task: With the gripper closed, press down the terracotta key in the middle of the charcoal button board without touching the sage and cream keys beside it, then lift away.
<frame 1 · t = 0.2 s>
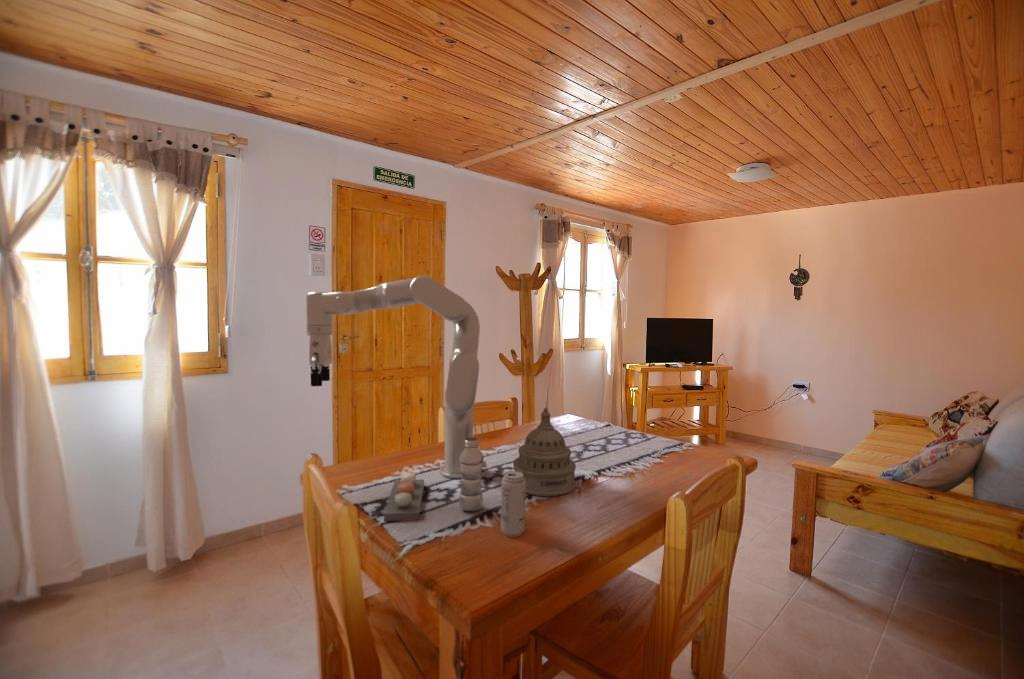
hand: (320, 383, 150), 31 cm above the table, fingers open, 9 cm apart
key cream: (408, 478, 141), point 4 cm above the table, slide at 0.0 cm
plastic bottle: (470, 509, 130), on the table
button board: (405, 501, 134), on the table
dome: (543, 485, 149), on the table
key sage: (403, 499, 126), point 4 cm above the table, slide at 0.0 cm
key terracotta: (405, 488, 134), point 4 cm above the table, slide at 0.0 cm
energy drink can: (512, 532, 117), on the table
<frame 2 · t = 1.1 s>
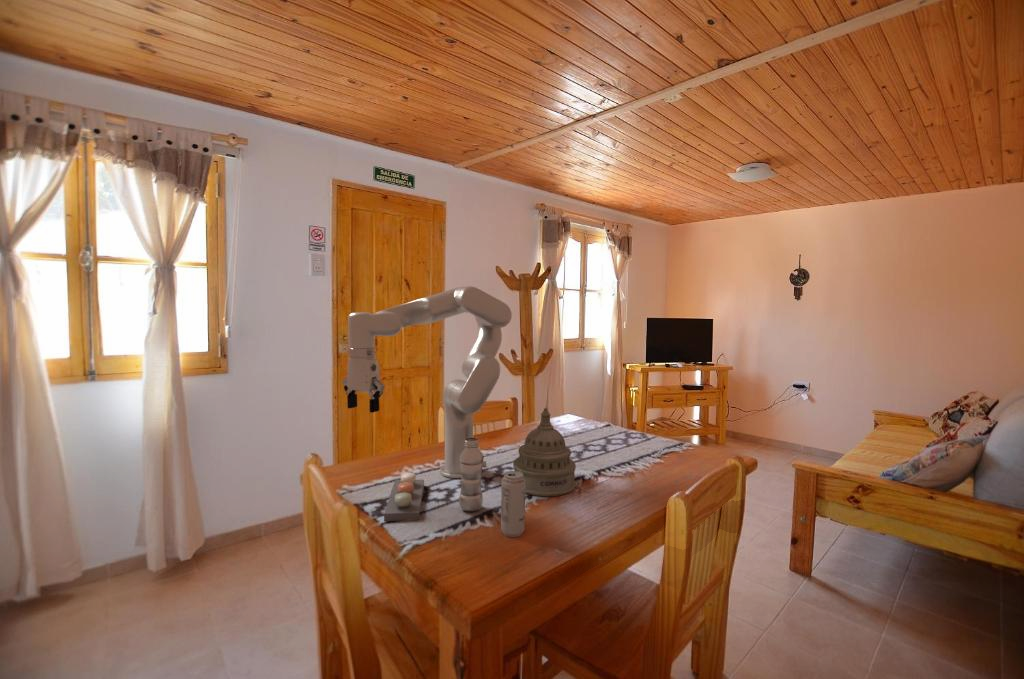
hand: (363, 409, 140), 25 cm above the table, fingers open, 9 cm apart
nothing on the table moved.
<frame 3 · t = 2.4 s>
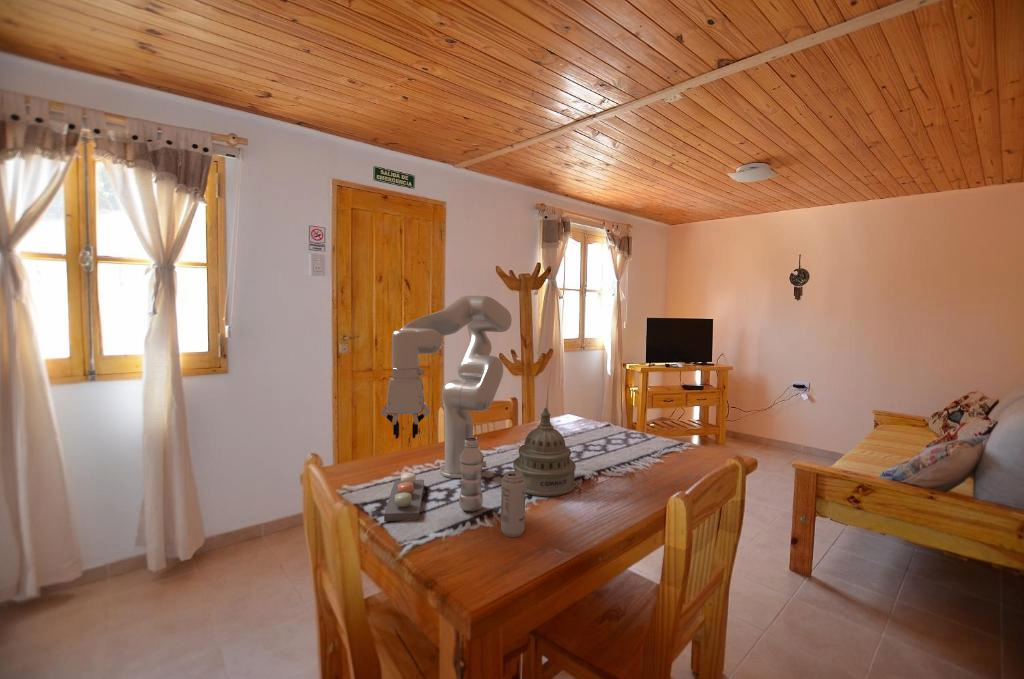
hand: (405, 436, 132), 19 cm above the table, fingers open, 4 cm apart
nothing on the table moved.
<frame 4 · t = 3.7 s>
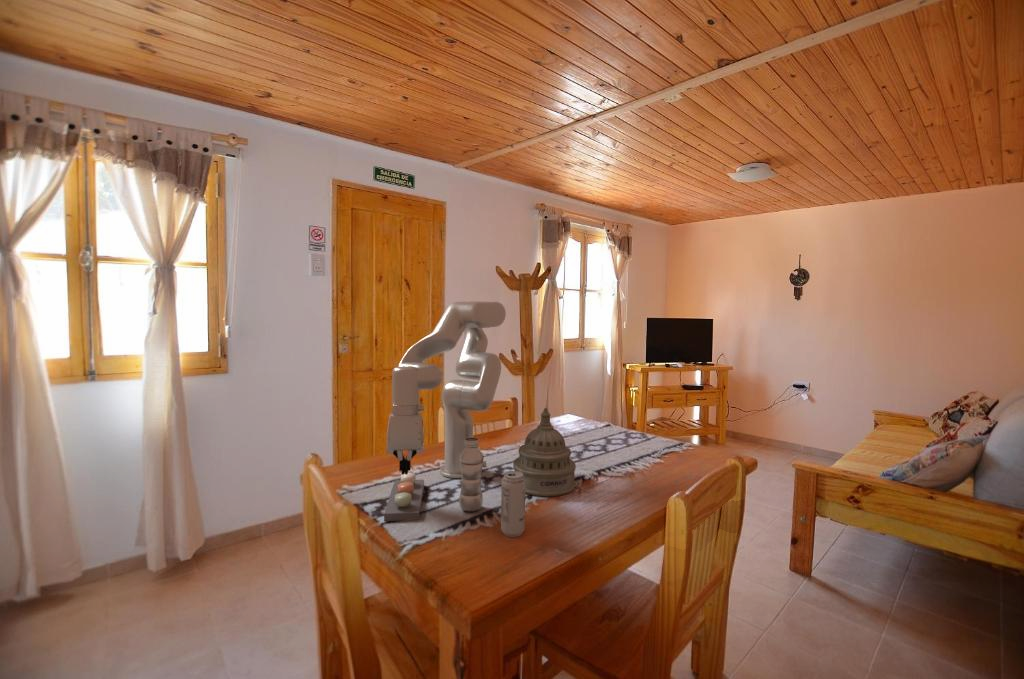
hand: (404, 472, 133), 9 cm above the table, fingers closed
nothing on the table moved.
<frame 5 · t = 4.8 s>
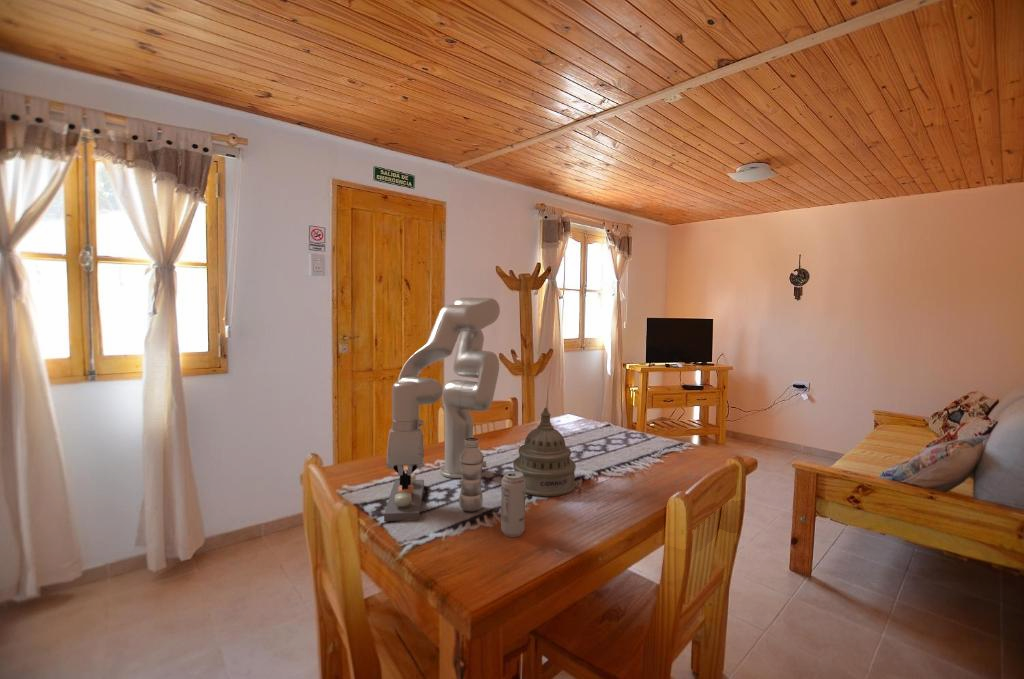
hand: (405, 487, 133), 4 cm above the table, fingers closed
key terracotta: (405, 490, 134), point 3 cm above the table, slide at 0.6 cm, touching gripper
everything else where it was.
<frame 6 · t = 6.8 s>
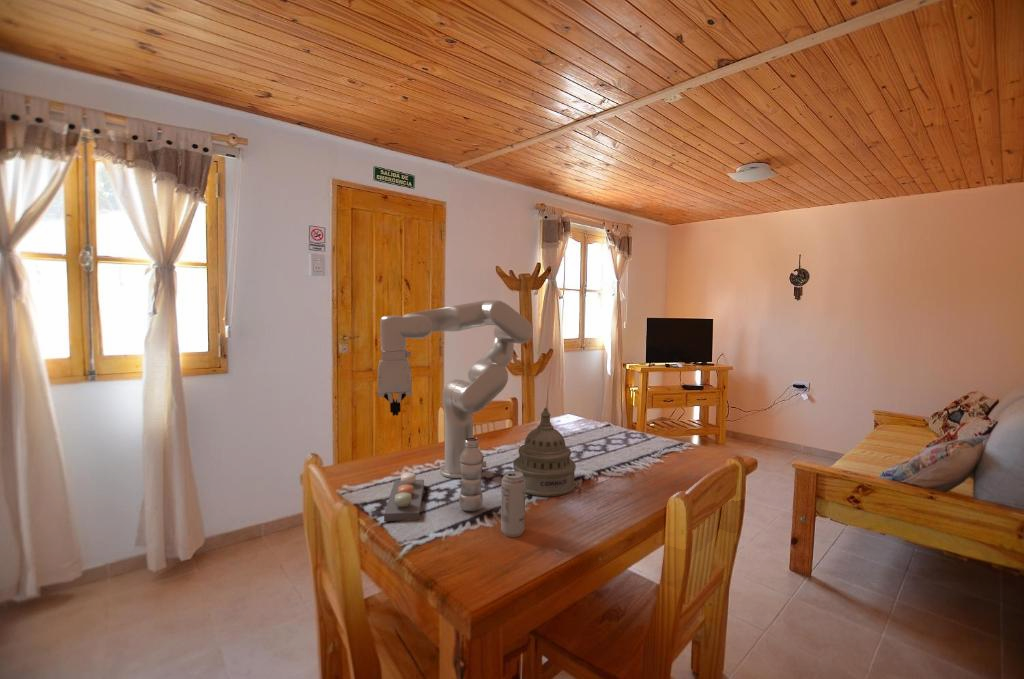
hand: (395, 414, 144), 23 cm above the table, fingers closed
key terracotta: (405, 490, 134), point 3 cm above the table, slide at 0.7 cm
everything else where it was.
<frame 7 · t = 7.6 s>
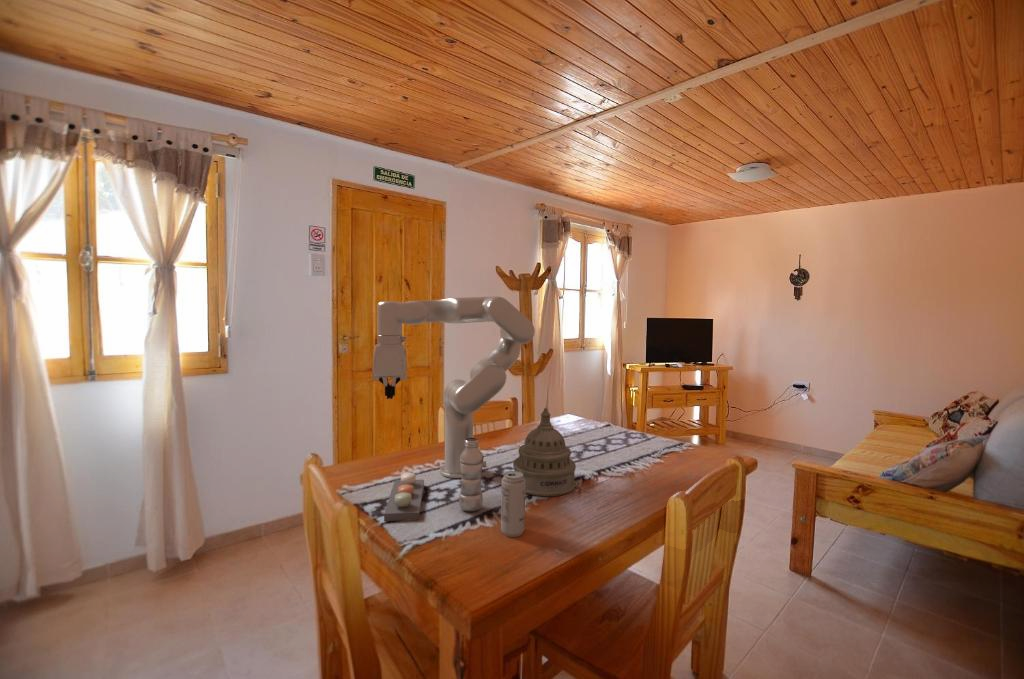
hand: (390, 397, 147), 27 cm above the table, fingers closed
nothing on the table moved.
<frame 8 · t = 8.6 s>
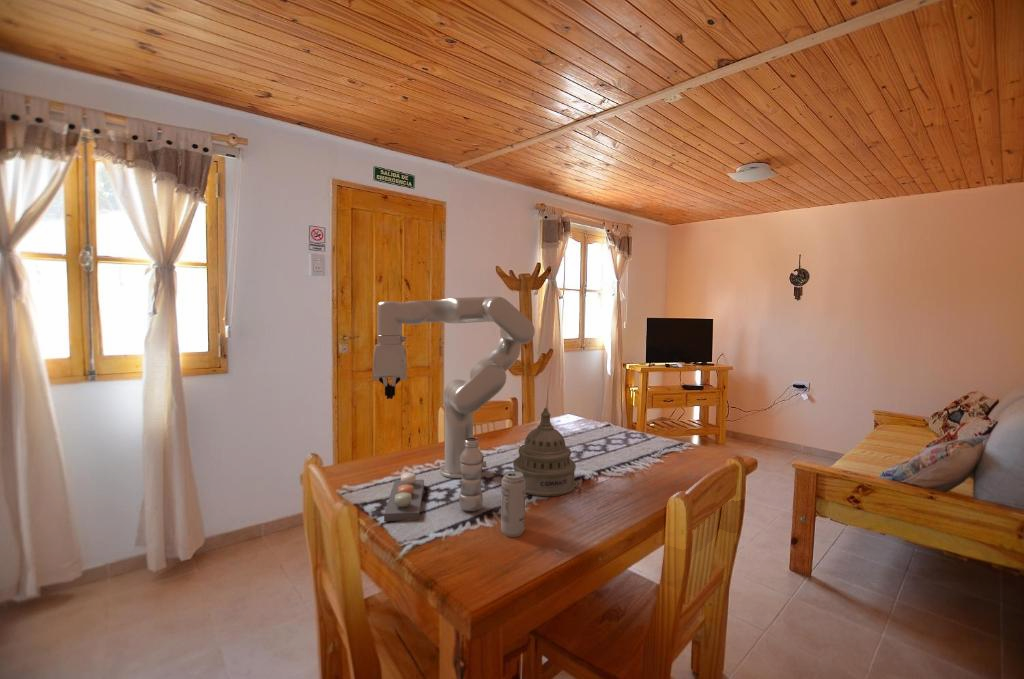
hand: (390, 397, 147), 27 cm above the table, fingers closed
nothing on the table moved.
at the end: key terracotta slide at 0.7 cm; key sage slide at 0.0 cm; key cream slide at 0.0 cm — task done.
